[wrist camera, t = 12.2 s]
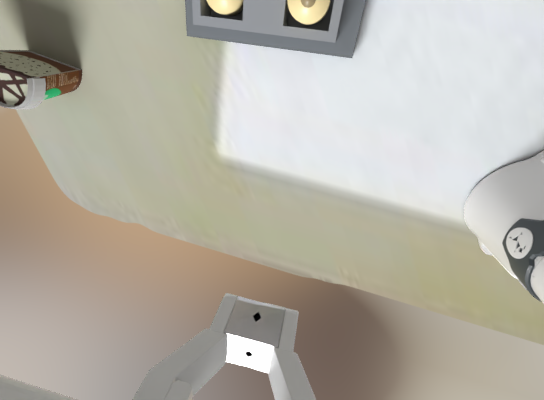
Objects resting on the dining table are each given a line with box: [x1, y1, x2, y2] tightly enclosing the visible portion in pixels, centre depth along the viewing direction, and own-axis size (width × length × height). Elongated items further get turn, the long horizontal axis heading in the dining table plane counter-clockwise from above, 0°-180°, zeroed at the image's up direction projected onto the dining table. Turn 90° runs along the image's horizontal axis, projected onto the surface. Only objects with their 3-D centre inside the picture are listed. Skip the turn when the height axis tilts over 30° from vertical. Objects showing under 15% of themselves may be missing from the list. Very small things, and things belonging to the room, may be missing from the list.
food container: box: [0, 50, 82, 109], centre depth 41 cm, size 12×6×10 cm, turn 73°
